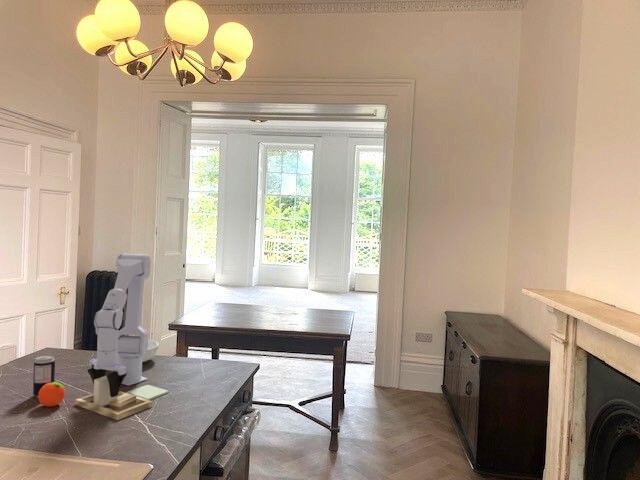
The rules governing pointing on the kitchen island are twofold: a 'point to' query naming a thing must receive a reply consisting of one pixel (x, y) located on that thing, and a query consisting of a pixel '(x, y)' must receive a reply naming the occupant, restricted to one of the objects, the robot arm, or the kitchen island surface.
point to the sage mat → (148, 392)
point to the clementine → (51, 394)
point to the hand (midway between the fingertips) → (106, 393)
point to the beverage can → (43, 372)
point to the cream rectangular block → (102, 391)
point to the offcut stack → (123, 402)
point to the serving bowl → (150, 350)
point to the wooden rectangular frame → (87, 404)
